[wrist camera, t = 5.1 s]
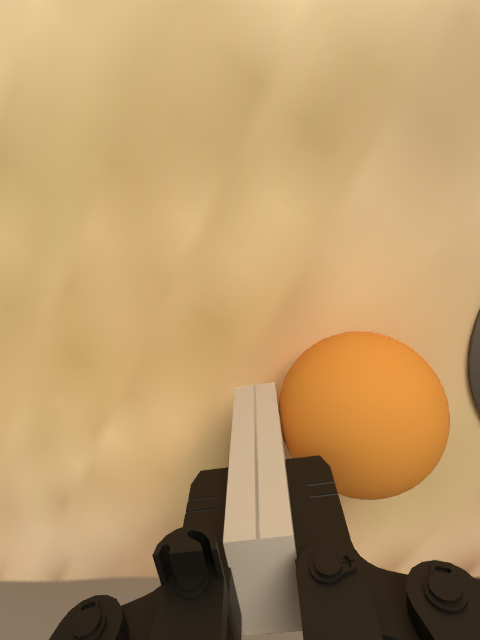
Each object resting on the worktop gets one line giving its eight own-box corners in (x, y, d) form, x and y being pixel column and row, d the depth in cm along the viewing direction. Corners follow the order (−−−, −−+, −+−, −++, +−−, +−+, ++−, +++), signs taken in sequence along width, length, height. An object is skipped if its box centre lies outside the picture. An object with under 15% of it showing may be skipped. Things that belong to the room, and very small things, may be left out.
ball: (335, 340, 18) (475, 358, 15) (310, 465, 17) (451, 516, 14) (267, 307, 14) (440, 322, 10) (231, 470, 13) (404, 545, 10)
